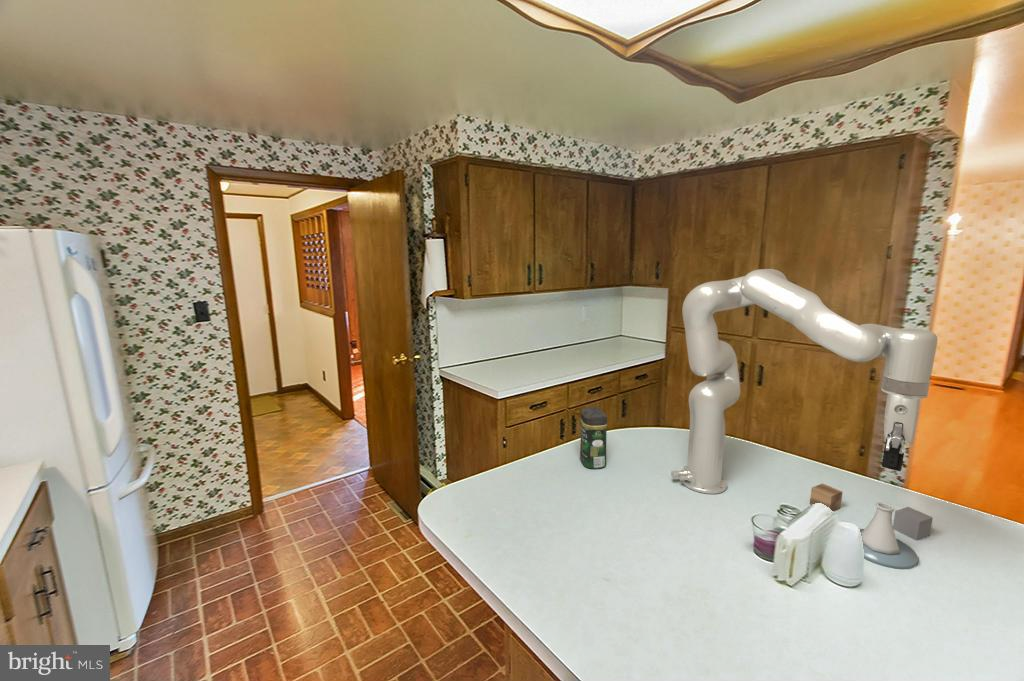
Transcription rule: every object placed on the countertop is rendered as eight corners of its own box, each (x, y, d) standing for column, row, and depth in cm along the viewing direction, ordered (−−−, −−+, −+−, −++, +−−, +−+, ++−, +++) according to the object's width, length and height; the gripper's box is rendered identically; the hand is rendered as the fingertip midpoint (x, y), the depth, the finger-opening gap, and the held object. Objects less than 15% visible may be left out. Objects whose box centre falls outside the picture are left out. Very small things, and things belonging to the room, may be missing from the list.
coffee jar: (577, 457, 150) (578, 405, 147) (600, 456, 151) (601, 404, 147) (584, 470, 140) (586, 415, 137) (609, 469, 141) (610, 414, 138)
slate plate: (879, 571, 94) (879, 567, 94) (830, 534, 107) (830, 530, 107) (933, 566, 96) (934, 562, 96) (878, 530, 108) (879, 526, 108)
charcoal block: (916, 541, 104) (919, 521, 104) (892, 529, 109) (895, 510, 108) (929, 536, 106) (932, 517, 105) (905, 524, 111) (908, 506, 110)
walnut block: (829, 513, 116) (831, 496, 115) (809, 504, 120) (811, 487, 119) (840, 508, 118) (842, 491, 117) (820, 500, 123) (822, 483, 122)
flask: (907, 557, 97) (914, 516, 95) (869, 553, 99) (875, 512, 97) (887, 537, 104) (894, 498, 102) (852, 533, 106) (858, 495, 104)
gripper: (929, 400, 86) (914, 481, 89) (927, 381, 98) (914, 453, 101) (879, 392, 91) (867, 469, 94) (884, 375, 103) (873, 444, 106)
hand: (892, 460), depth 98 cm, fingers open, 9 cm apart
